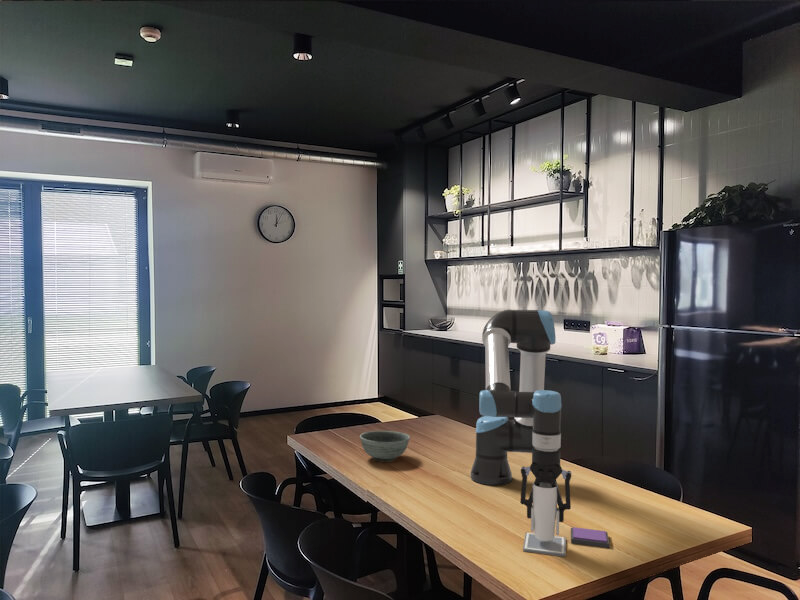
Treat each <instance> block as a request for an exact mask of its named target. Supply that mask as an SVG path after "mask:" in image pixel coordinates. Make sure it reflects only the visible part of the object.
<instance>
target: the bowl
mask: <svg viewBox="0 0 800 600" xmlns="http://www.w3.org/2000/svg"><path fill="white" fill-rule="evenodd" d="M410 436H411V435H409V434H407V433H405V432H401V431H394V430H392V431H391V430H371V431H365V432H363V433H360V435H359V438H360V441H361V446H362V448H363V451H364V452H365V453H366V454H367V455H368V456H370V457H371V458H372V459H373V461H376V462H381V463H382V462H383V463H389V462H394V461H396V459H397V458H399V457H400V456H402V455H403V454H404V453H405V452H406V450H407V448H408V445H409V441H410V439H411V437H410Z"/></svg>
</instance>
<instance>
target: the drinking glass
mask: <svg viewBox="0 0 800 600" xmlns="http://www.w3.org/2000/svg"><path fill="white" fill-rule="evenodd" d="M534 482H535V481H533V482H532V488H533V503H532V505H533V508H534V532H533V533H534V535H535V537H536V538H537V539H538V540H540V541H552V540H553V539H554V536H555V534H556V510H557V508H558V504H557V487H558V488H559V486H558V484H557V487H554V488H553V487H552V484H551V483H547V482H540V484H539V486H536V485H534Z"/></svg>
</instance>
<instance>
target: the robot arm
mask: <svg viewBox="0 0 800 600" xmlns="http://www.w3.org/2000/svg"><path fill="white" fill-rule="evenodd" d="M481 339H482V340H481V341H482V345H483V346H485V347H484V348H485V349H484V350H485V357H484V358H485V359H484V360H485V364H484V365H485V389H483V390H480V392H479V397H478V398H479V400H478V401H479V403H478V404H479V409H478V410H479V414H480V415H481V417H479V418H477V421H476V422H475V423H476V426H475V427H476V428H475V435H476V436H475V457H474V461H473V464H472V467H471V470H470V479H471V480H472V481H473V482H476V483H478V484H482V485H488V486H502V485H507V484H509V483H511V482H512V480H513V479H512V478H513V477H512V476H513V475H512V469H511V466H510V464H509V460H508V453H525V454H528V453H529V454H531V463H530V465H529V466H526V467H525V466H521V469H520V473H521V477H522V480H521V490H520V491H521V492H520V504H521V505H524V506H526V518H527V519H530V533H534V508H533V487H532V488H531V490H530V493H529V497H528V499H526V497H527V495H526V494H527V487H528V485H527V484H528V476H529V475H530V472H531V473H532V475H533V477H535V478H534V479H535V480H534V481H533V482H534V485H536V486H539V484H540V482H547V483H551V484H552V487H553V488H554V487H557V485H558V483H557V482H558V481H557V479H558V478H559V477H560V475H562V479H564V493H565V494H564V495H565V502H563V499H562V496H561V492H560V489H559V486H558V487H557V510H556V521H555V536H560V523H564V519H565V518H564V514H565V511H566V510H571V508H572V507H571V506H572V505H571V503H572V502H571V489H570V488H571V485H570V481H571V479H572V471H571V470H565V469H563V468H562V466H561V450H560V448H561V444H562V443H561V441H562V440H561V439H562V433H561V432H562V431H561V421H562V407H563V405H562V404H563V403H562V396H561V393H559V392H558V391H556V390H555V391H554V390H548V389H546V390H545V374H546V373H545V372H546V371H545V369H546V355H547V353H548V352H549V351H551V345H555V344H556V329H555V323H554V316H553V314H552V313H551V311H548V310H540V309H504V310H502V311H499V312H497V313H496V314H494V315H493V316H492V317H491V318H490V319H489V320H488V321H487V322H486V323H485V325H484V328H483V330H482V338H481ZM510 344H516V349H517V350H518V351H520V365H519V389H518V390H519V391H513V390H512V389H511V374H510V357H509V356H510V355H509V346H510ZM511 390H512V391H511ZM509 418H513V419H509Z"/></svg>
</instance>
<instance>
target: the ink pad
mask: <svg viewBox="0 0 800 600" xmlns="http://www.w3.org/2000/svg"><path fill="white" fill-rule="evenodd" d="M570 543H571V544H575V545H584V546H591V547H596V548H597V547H600V548H604V549H605V548H606V549H609V548H610V539H609V534H608V531H606V530H598V529H589V528H582V527H570Z"/></svg>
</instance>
